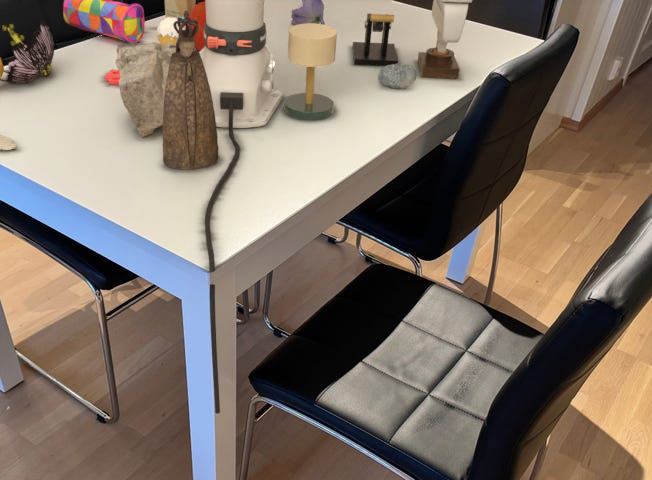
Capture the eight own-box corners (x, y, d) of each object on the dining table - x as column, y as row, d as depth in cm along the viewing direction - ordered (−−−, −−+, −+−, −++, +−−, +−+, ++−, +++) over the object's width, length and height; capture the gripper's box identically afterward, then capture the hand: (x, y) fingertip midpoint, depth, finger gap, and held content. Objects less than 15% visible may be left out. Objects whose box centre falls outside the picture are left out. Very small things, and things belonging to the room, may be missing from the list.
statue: (188, 177, 115) (177, 17, 98) (158, 163, 118) (141, 6, 101) (224, 160, 120) (219, 5, 103) (194, 147, 123) (184, -5, 106)
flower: (344, 3, 170) (311, -21, 169) (327, 26, 167) (293, 1, 166) (333, 28, 178) (301, 5, 178) (316, 50, 176) (284, 27, 175)
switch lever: (393, 24, 147) (394, 11, 147) (370, 23, 147) (371, 10, 147) (387, 32, 158) (388, 20, 157) (366, 31, 158) (366, 19, 157)
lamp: (333, 121, 133) (340, 40, 123) (282, 119, 133) (284, 38, 123) (333, 101, 141) (339, 23, 130) (284, 99, 141) (287, 21, 130)
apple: (180, 52, 158) (176, 2, 151) (204, 39, 166) (202, -9, 158) (220, 61, 155) (218, 10, 148) (243, 47, 162) (243, -2, 155)
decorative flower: (71, 57, 137) (70, 36, 148) (20, 12, 130) (23, -6, 141) (27, 110, 141) (29, 86, 152) (-25, 69, 134) (-19, 47, 145)
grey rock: (416, 87, 148) (416, 62, 146) (418, 87, 145) (418, 61, 143) (377, 89, 149) (377, 65, 147) (378, 90, 146) (378, 64, 144)
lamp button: (447, 62, 153) (448, 53, 152) (432, 61, 153) (434, 53, 152) (445, 57, 155) (446, 49, 154) (431, 56, 155) (432, 48, 154)
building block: (105, 86, 143) (106, 72, 148) (144, 85, 144) (144, 71, 150) (104, 82, 142) (106, 68, 148) (143, 81, 143) (143, 67, 149)
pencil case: (61, -20, 163) (90, -12, 170) (56, 22, 167) (85, 28, 174) (126, 0, 154) (153, 7, 162) (119, 44, 158) (147, 49, 165)
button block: (457, 79, 152) (461, 60, 149) (422, 77, 152) (425, 58, 149) (451, 63, 160) (455, 45, 157) (417, 61, 160) (420, 43, 157)
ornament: (150, 42, 155) (157, 5, 154) (160, 51, 162) (166, 16, 161) (179, 48, 155) (186, 11, 153) (187, 57, 162) (193, 22, 160)
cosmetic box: (166, 41, 165) (161, -16, 156) (175, 35, 168) (170, -20, 159) (190, 45, 163) (186, -12, 155) (198, 39, 166) (195, -16, 158)
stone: (88, 44, 122) (127, 74, 114) (172, 30, 130) (214, 57, 122) (98, 115, 131) (134, 147, 123) (175, 98, 139) (215, 127, 131)
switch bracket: (397, 66, 157) (403, 25, 151) (354, 64, 157) (357, 23, 151) (393, 49, 166) (398, 9, 160) (352, 47, 166) (356, 8, 160)
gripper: (431, -31, 151) (421, 34, 161) (443, -5, 136) (431, 66, 146) (459, -30, 151) (448, 36, 161) (475, -4, 136) (461, 67, 146)
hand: (440, 50), depth 153 cm, fingers closed, pressing on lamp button
